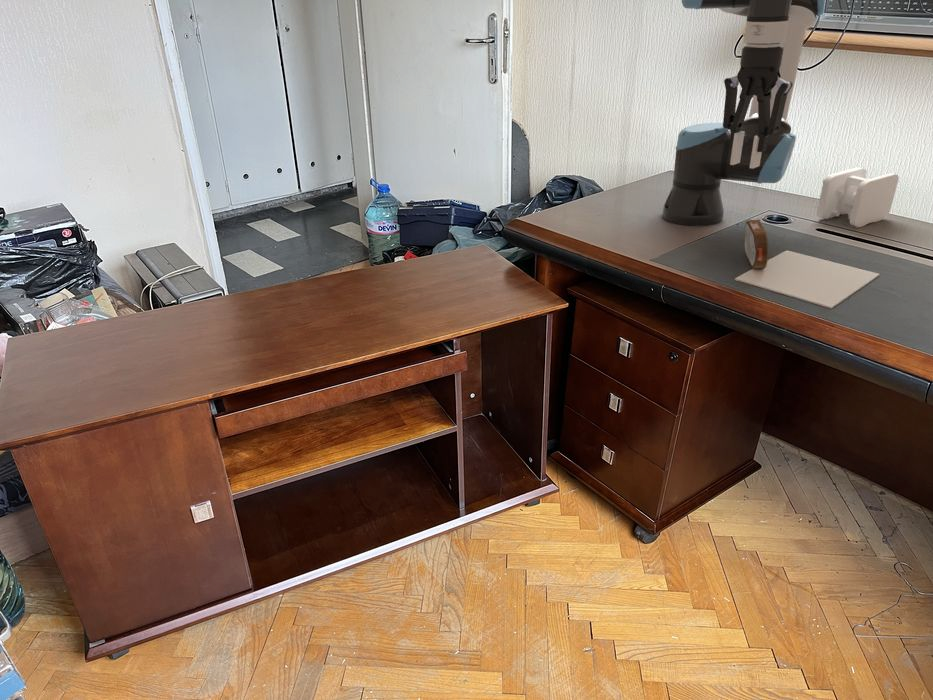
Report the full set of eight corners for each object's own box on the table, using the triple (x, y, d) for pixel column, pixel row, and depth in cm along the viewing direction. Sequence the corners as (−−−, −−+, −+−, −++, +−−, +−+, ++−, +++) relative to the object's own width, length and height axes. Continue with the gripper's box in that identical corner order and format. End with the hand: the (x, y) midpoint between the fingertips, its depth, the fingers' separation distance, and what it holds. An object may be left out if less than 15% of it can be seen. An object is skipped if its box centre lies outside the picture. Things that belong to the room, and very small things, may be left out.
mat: (734, 279, 144) (734, 278, 143) (786, 251, 156) (786, 250, 156) (831, 308, 130) (831, 307, 130) (879, 275, 142) (879, 274, 142)
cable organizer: (851, 231, 165) (863, 183, 160) (812, 220, 173) (822, 174, 168) (889, 219, 171) (901, 173, 166) (849, 208, 180) (860, 164, 174)
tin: (766, 274, 144) (772, 235, 140) (750, 274, 145) (755, 235, 141) (755, 250, 157) (759, 214, 153) (740, 250, 158) (744, 214, 154)
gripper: (714, 44, 137) (699, 162, 148) (796, 48, 125) (773, 175, 137) (734, 41, 141) (718, 155, 152) (815, 44, 130) (791, 168, 141)
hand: (744, 165), depth 145 cm, fingers open, 4 cm apart
